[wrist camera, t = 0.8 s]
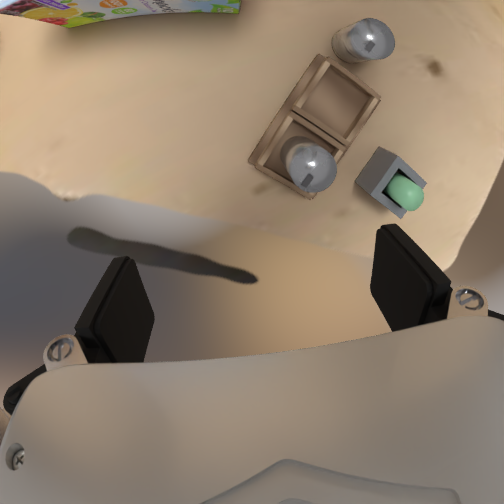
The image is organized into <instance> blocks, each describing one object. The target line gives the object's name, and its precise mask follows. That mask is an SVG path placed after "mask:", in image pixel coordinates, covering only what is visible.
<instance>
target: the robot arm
mask: <svg viewBox="0 0 504 504" xmlns="http://www.w3.org/2000/svg"><path fill="white" fill-rule="evenodd" d="M450 284H451V281H450V279H449V278H448V277H447V276H446V275H445V274H444V273H443V272H442V270H441V269H440V268H439V267H438V266H437V265H436V264H435V263H434V262H433V261H432V260H431V259H430V258H429V256H428V255H427V254H426V253H425V252H424V251H423V250H422V249H421V248H420V247H419V246H418V245H417V244H416V243H415V242H414V241H413V240H412V239H411V238H410V237H409V236H408V235H407V234H406V233H405V232H404V231H403V230H402V229H401V228H400V227H399V226H398V225H397V224H387V225H382V226H381V228H380V229H378V230H377V233H376V243H375V252H374V261H373V269H372V277H371V284H370V289H371V293H372V296H373V298H374V299H375V301H376V303H377V305H378V306H379V308H380V310H381V312H382V314H383V315H384V317H385V319H386V321H387V323H388V325H389V326H390V328H391V330H392V332H389V333H385V334H381V335H376V336H371V337H366V338H361V339H356V340H351V341H345V342H340V343H335V344H330V345H323V346H318V347H311V348H305V349H298V350H292V351H284V352H276V353H268V354H260V355H251V356H242V357H231V358H219V359H207V360H190V361H173V362H172V361H171V362H144V358H145V354H146V349H147V346H148V342H149V339H150V335H151V331H152V328H153V324H154V312H153V310H152V307H151V304H150V302H149V299H148V297H147V294H146V292H145V289H144V286H143V283H142V281H141V278H140V275H139V272H138V269H137V266H136V263H135V261H134V260H133V259H130V258H129V257H128V256H124V257H117V258H114V259H113V260H112V262H111V264H110V265H109V267H108V269H107V270H106V272H105V274H104V275H103V277H102V278H101V280H100V282H99V284H98V285H97V287H96V289H95V291H94V292H93V294H92V296H91V298H90V299H89V301H88V303H87V305H86V307H85V308H84V310H83V312H82V314H81V316H80V318H79V320H78V322H77V324H76V326H75V330H76V333H75V335H74V336H72V335H62V336H59V337H57V338H55V339H54V340H52V341H51V342H50V343H49V344H48V345H47V347H46V349H45V351H44V354H43V356H44V362H45V364H44V365H42V366H41V367H39V368H38V369H36V370H35V371H33V372H32V373H30V374H29V375H27V376H25V377H24V378H22V379H21V380H19V381H18V382H16V383H15V384H13V385H12V386H11V387H9V388H8V390H7V392H6V394H5V396H4V400H3V405H4V408H3V410H2V409H1V408H0V504H504V315H502V314H499V313H496V312H494V311H491V310H488V302H487V299H486V297H485V296H484V295H483V294H482V293H481V292H480V291H479V290H477V289H475V288H472V287H469V286H459V287H456V288H455V289H454V290H453V289H452V288H451V287H450Z"/></svg>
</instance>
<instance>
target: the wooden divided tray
mask: <svg viewBox="0 0 504 504" xmlns="http://www.w3.org/2000/svg"><path fill="white" fill-rule="evenodd" d="M380 98H381V96H380V95H379V94H377V93H376V92H375V91H374V90H373V89H371V88H370V87H369V86H368V85H366V84H365V83H364V82H363V81H361V80H360V79H359V78H357V77H356V76H355V75H354V74H352V73H351V72H350V71H348V70H347V69H346V68H344V67H343V66H341V65H340V64H339V63H337V62H336V61H334V60H333V59H332V58H330V57H326V58H325V57H323V56H322V55H320V54H318V55H316V57H315V58H314V60H313V61H312V63H311V64H310V65H309V67H308V68H307V70H306V71H305V73H304V74H303V76H302V77H301V79H300V80H299V82H298V83H297V84H296V86H295V87H294V89H293V90H292V92H291V93H290V95H289V96H288V98H287V99H286V101H285V102H284V104H283V105H282V107H281V109H280V110H279V112H278V113H277V115H276V116H275V118H274V119H273V121H272V122H271V124H270V125H269V127H268V129H267V130H266V132H265V133H264V135H263V136H262V138H261V140H260V141H259V143H258V144H257V146H256V148H255V149H254V151H253V152H252V154H251V156H250V157H249V159H248V162H250V163H252V164H254V165H255V168H256V169H258V170H260V171H262V172H263V173H265V174H267V175H269V176H270V177H272V178H274V179H276V180H277V181H279V182H281V183H282V184H284V185H286V186H288V187H289V188H291V189H293V190H294V191H296V192H298V193H299V194H301V195H303V196H304V197H306V198H308V199H309V200H311V198H312V199H313V198H314V197H315V195H316V194H317V192H316V193H310V192H306V191H303V190H301V189H300V188H298V187H297V186H296V184H295V183H294V181H293V180H292V178H291V176H290V175H289V173H288V172H287V170H286V168H285V167H284V165H283V163H282V161H281V158H280V151H281V148H282V146H283V144H284V143H285V142H286V141H287V140H288V139H289V138H291V137H294V136H305V137H307V138H309V139H311V140H312V141H314V142H315V143H317V144H318V145H319V146H321V147H322V148H324V149H325V150H326V151H328V152H329V153H330V154H331V155H332V156H333V158H334V159H335V162H336V165H337V164H338V162H339V161H340V159H341V158H342V157H343V155H344V154H345V152H346V151H347V149H348V148H349V146H350V145H351V144H352V142H353V141H354V139H355V138H356V136H357V135H358V133H359V132H360V130H361V129H362V127H363V126H364V125H365V123H366V122H367V120H368V119H369V117H370V116H371V114H372V113H373V111H374V110H375V108H376V107H377V105H378V104H379V102H380V101H381V100H380Z"/></svg>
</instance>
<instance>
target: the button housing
mask: <svg viewBox="0 0 504 504" xmlns="http://www.w3.org/2000/svg"><path fill="white" fill-rule="evenodd" d="M396 171H397V172H398V173H399V174H401V175H403V176H404V177H406V178H407V179H409V180H410V181H412V182H413V183H415V184H416V185H418V186H419V187H421V188H422V189H423V188H424V187H425V185H426V184H427V183H426V182H425V181H424V180H423V179H422V178H421V177H420V176H419V175H418V174H417V173H416V172H415V171H414V170H413V169H412V168H411V167H410V166H409V165H408V164H406V163H405V162H404V161H403V160H402V159H401V158H400V157H399V156H397V155H395V154H393V153H391V152H389V151H387V150H385V149H383V148H381V147H378V149H377V150H376V151H375V153H374V154H373V156H372V157H371V159H370V160H369V162H368V163H367V164H366V166H365V167H364V169H363V170H362V172H361V173H360V174H359V176H358V177H357V179H356V180H355V182H356V183H357V184H358V185H359V186H361V187H362V188H363V189H364V190H365V191H366V192H367V193H368V194H370V195H371V196H372V197H373V198H375V199H376V200H377V201H379V202H380V203H381V204H383V205H384V206H385V207H386V208H388V209H389V210H390V211H391V212H393V213H394V214H395V215H397V216H398V217H399V218H400V219H401V218H402V217H403V216H404V214H405V213H406V212H407V210H406V209H404V208H403V207H402V206H401V205H400V204H398V203H397V202H396V201H395V200H394V199H392V198H391V197H390V196H389V195H388V194H386V193H385V192H384V194H383V193H382V191H383V189H384V188H385V187H386V185H387V184H388V182H389V181H390V180H391V178H392V177H393V175H394V174H395V173H396Z"/></svg>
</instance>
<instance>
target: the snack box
mask: <svg viewBox="0 0 504 504" xmlns="http://www.w3.org/2000/svg"><path fill="white" fill-rule="evenodd" d="M240 4H241V0H0V14H7V15H13V16H19V17H24V18H30V19H34V20H39V21H43V22H48V23H52V24H56V25H60V26H63V27H67V28H71V27H76V26H80V25H84V24H89V23H94V22H99V21H104V20H110V19H116V18H122V17H130V16H138V15H148V14H159V13H179V12H218V13H235V14H238V13H239V11H240Z"/></svg>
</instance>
